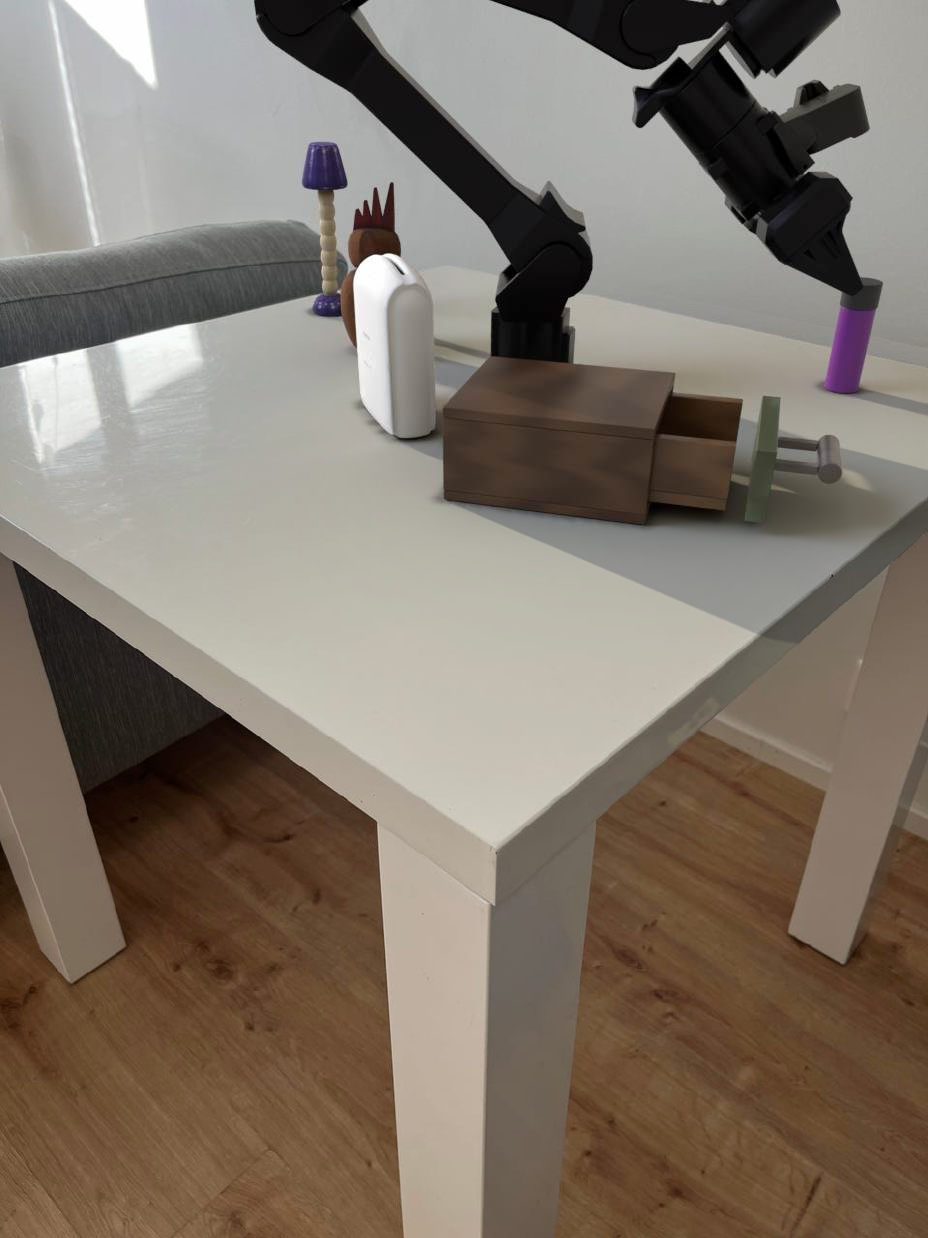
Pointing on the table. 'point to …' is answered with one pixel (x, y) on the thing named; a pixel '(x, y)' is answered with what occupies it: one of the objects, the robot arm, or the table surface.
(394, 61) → the robot arm
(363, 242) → the wooden figurine
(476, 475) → the cabinet
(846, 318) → the glue stick
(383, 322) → the photo printer
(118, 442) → the table surface
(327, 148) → the toy lamp
